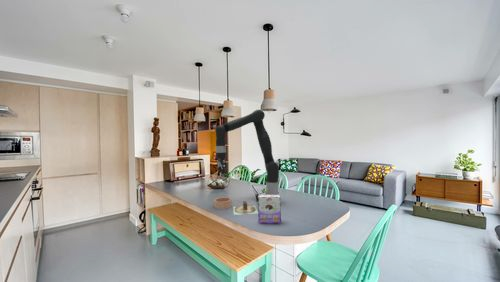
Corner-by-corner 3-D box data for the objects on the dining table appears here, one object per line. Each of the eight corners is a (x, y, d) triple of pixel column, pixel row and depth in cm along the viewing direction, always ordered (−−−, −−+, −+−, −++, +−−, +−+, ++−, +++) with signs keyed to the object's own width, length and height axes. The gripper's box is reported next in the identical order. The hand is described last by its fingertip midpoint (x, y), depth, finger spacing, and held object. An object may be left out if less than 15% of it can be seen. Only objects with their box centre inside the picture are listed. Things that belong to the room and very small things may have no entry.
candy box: (280, 220, 135) (280, 194, 135) (281, 224, 130) (280, 196, 129) (258, 219, 137) (258, 194, 137) (258, 223, 131) (257, 196, 131)
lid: (254, 206, 163) (253, 198, 163) (257, 213, 148) (256, 205, 148) (234, 207, 161) (234, 199, 161) (235, 214, 146) (235, 206, 146)
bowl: (230, 203, 170) (230, 197, 170) (231, 209, 158) (231, 201, 158) (214, 204, 169) (214, 197, 169) (214, 210, 156) (213, 202, 156)
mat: (255, 206, 164) (255, 205, 164) (258, 214, 147) (258, 213, 147) (232, 207, 162) (232, 206, 162) (233, 215, 145) (233, 214, 145)
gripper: (228, 152, 157) (229, 174, 157) (222, 151, 170) (223, 171, 170) (218, 152, 154) (219, 175, 154) (213, 151, 166) (214, 172, 167)
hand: (221, 173), depth 162 cm, fingers open, 8 cm apart
